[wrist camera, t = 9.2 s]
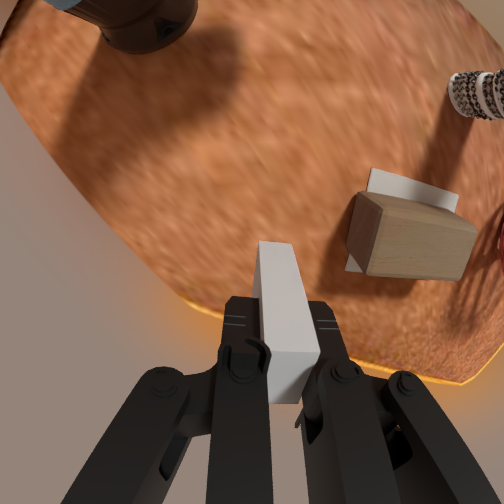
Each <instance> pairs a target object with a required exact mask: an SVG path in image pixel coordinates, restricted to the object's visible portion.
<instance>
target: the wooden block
mask: <svg viewBox="0 0 504 504" xmlns="http://www.w3.org/2000/svg"><path fill="white" fill-rule="evenodd" d="M477 233H478V229H477V228H476V227H475V225H473V224H472V223H470V222H469V221H467V220H465V219H464V218H462V217H460V216H459V215H457V214H455V213H453V212H452V211H450V210H448V209H446V208H442V207H438V206H434V205H430V204H425V203H421V202H417V201H412V200H408V199H403V198H398V197H394V196H389V195H384V194H379V193H373V192H368V191H360V192H358V193H357V196H356V201H355V206H354V210H353V215H352V219H351V224H350V228H349V233H348V237H347V241H346V248H347V250H348V251H349V253H350V254H351V256H352V257H353V258H354V260H355V261H356V263H357V264H358V266H359V267H360V269H361V270H362V272H363V273H364V274H366V275H368V276H379V277H394V278H410V279H427V280H444V281H459V280H460V279H461V277H462V275H463V272H464V270H465V267H466V265H467V262H468V259H469V257H470V254H471V251H472V248H473V245H474V243H475V239H476V236H477Z"/></svg>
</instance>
